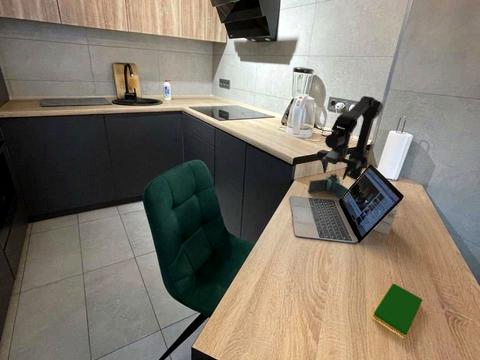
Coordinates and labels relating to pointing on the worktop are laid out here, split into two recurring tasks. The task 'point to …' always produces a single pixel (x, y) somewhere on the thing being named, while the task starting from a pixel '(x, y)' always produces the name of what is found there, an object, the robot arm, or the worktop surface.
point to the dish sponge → (398, 309)
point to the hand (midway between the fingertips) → (333, 176)
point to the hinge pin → (333, 177)
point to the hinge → (327, 186)
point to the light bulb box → (386, 222)
